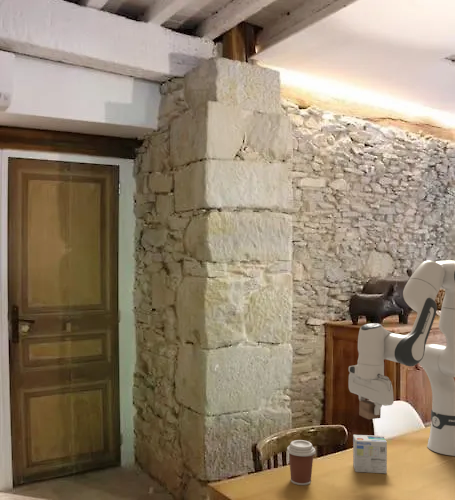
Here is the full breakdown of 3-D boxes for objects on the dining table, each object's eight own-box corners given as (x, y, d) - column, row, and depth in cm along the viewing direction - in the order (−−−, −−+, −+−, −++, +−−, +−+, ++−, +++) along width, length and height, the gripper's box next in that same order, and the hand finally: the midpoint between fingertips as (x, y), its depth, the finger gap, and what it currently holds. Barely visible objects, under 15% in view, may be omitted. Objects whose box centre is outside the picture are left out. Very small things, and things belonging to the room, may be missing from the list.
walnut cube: (371, 413, 184) (371, 399, 184) (380, 418, 179) (380, 403, 179) (359, 415, 182) (359, 400, 182) (368, 419, 177) (368, 404, 177)
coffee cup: (319, 486, 166) (319, 448, 167) (291, 487, 165) (291, 449, 165) (309, 474, 175) (310, 438, 176) (283, 475, 174) (283, 439, 174)
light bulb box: (383, 466, 183) (383, 435, 183) (387, 474, 177) (387, 441, 177) (352, 464, 184) (352, 433, 184) (354, 472, 178) (355, 440, 178)
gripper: (398, 377, 173) (398, 419, 172) (360, 365, 191) (359, 403, 191) (383, 378, 170) (382, 421, 170) (345, 366, 189) (344, 404, 189)
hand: (369, 411), depth 181 cm, fingers closed on walnut cube, 5 cm apart
